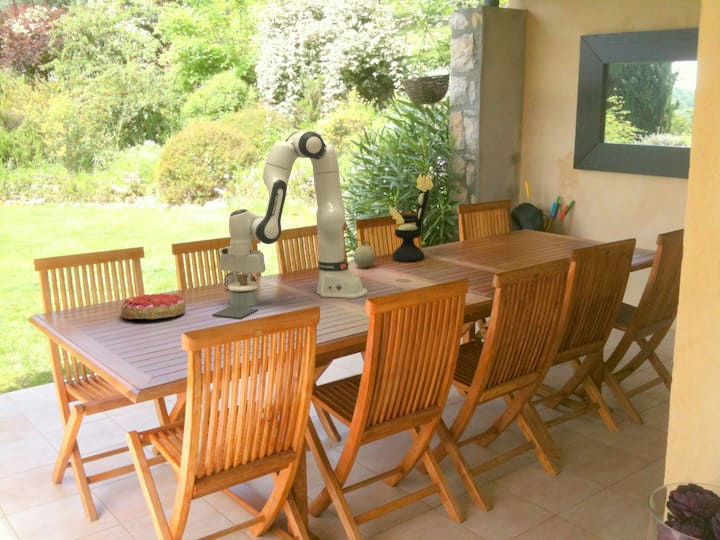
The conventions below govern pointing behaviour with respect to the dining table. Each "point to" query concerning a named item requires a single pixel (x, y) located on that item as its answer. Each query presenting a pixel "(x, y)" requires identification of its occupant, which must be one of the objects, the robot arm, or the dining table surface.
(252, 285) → the lid
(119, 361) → the dining table surface
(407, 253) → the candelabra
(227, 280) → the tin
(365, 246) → the fruit
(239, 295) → the bowl
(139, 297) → the cake
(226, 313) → the mat
